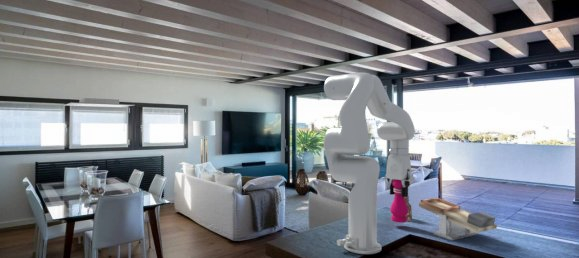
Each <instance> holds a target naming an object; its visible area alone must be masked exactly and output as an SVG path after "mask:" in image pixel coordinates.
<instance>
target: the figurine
mask: <svg viewBox="0 0 579 258" xmlns="http://www.w3.org/2000/svg"><path fill="white" fill-rule="evenodd" d="M409 199H410V198H409V195H408V197H405V202H406V204H407V207H408V214H407V215H406V217H407V222H411V221H413V212H412V205H411V203H410V202H409V201H410V200H409Z"/></svg>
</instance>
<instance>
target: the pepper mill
mask: <svg viewBox="0 0 579 258" xmlns="http://www.w3.org/2000/svg"><path fill="white" fill-rule="evenodd" d="M405 183H406V181H405ZM392 184H393V186H394V192H395V194H394V198H393V200H392V202H391V205H390V212H391V217H390V218H391V219H390V220H391V221H392V222H393V223H394V222H395V223H399V224H403V223H407V222H408V221H407V217H406V215H407V214H408V207H407V204H406V202H405V197H402V196H401V188H402V187H403V186H402V182H401V180H395V179H394V180H393V183H392Z"/></svg>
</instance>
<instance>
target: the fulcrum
mask: <svg viewBox="0 0 579 258" xmlns="http://www.w3.org/2000/svg"><path fill="white" fill-rule="evenodd" d="M463 210H464V211H466V212H469V213H471V214H472V212H471V211H470V210H465V209H463ZM438 221H439V222H438V224H439V225H438V226H439V228H438V229H439V230H436V231H433V235H434V236H438V237H440V238H443V239H446V240H449V241H455V240H459V239H465V238H468V237H469V238H470V237H472V236H477V235H478V233H475V232H473V231H471V230H469V229H466V228H464V227H462V226H460V225H458V224H456V223H454V222H451V221H449V220H448V216H447V215H443V214H439V215H438ZM464 237H465V238H464Z"/></svg>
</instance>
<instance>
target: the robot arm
mask: <svg viewBox="0 0 579 258" xmlns="http://www.w3.org/2000/svg"><path fill="white" fill-rule="evenodd" d="M323 91H324V94H325V96H326V97H327V98H328V99H329V100H332V101H344V103H343V104H342V106H341V108H340V111H339V113H338V117H339V119H338V120H339V124H340V126H334V127H333V126H332V127H331V128H328V129H327V130H326V131H325V134H324V137H323V150H324V153H325V154H324V155H325V157H326V161H327V162H326V163H327V166H328V170H329V174H330V176H331V178H332V179H333V180H334V181H336V182H343V183H352V184H354V186H353V187H352V189H351V190H350V192H349V193H348V201H347V203H348V205H347V206H348V207H347V208H348V217H347V218H348V222H347V223H348V224H347V225H348V227H347V228H348V229H347V230H348V231H347V234H345V237H344V238H343V239H342V238H340V239H337V240H336V244H337V246H338V247H340V246H343V247H344V249H345V250H347V251H348V252H351V253H354V254H359V255H374V254H378V253H380V252H381V251H382V245H381V244H380V243H379V242H377V239H378V236H377V235H378V227H377V226H378V225H377V221H378V220H377V218H378V216H377V215H378V214H377V213H378V211H377V210H378V209H377V203H378V201H377V200H378V199H377V198H378V196H377V194H378V183H379V177H380V169H381V168H380V163H379V162H378V161H377V159H375V158H374V157H372V156H366V155H365V154H367V153H368V152H369V151H370V149H371V148H370V147H371V143H370V141H371V140H370V139H371V138H370V134H369V128H368V122H367V118H366V117H367V116H366V109H368V111H369V113H370V115H372V116H373V117H374V118H378V119H381V120H384V121H383V122H381V123H380V124H379V125H378V126H377V127H376V128H377V129H376V133H377V136H378V137H379V138H380V139H381V140H384V141H389V151H388V152H389V155H388V157H387V161H386V173H385V174H384V178H386V181H387V182H388V185H389V195H390V196H391V195H395V192H394V186H393V184H392V183H393V180H394V179H395V180H401V182H402V186H403V187H402V188H401V196H402V197H408V196H409V188H410V187H411V186H410V185H412V183H413V182H414V181H415V178H414V177H413V174H412V165H411V164H412V163H411V157H410V156H409V155H410V154H409V153H410V140H413V138H414V137H415V132H416V129H415V126H414V122H413V120H412V118H411V115H410V113H409V112H407V110H405V109H404V108H402V107H400V106H399V105H398V104H395V103H393V102H392V101H391V100H390V98H389V96H388V94H387V91H386V90H385V87H384V85H383V82H382V81H381V78H379V76H378V75H374V74H370V73H368V72H364V71H363V72H360V71H359V72H351V73H344V74H337V75H335V74H334V75H330V76H329V77H327V78H326V79H325V81H324V85H323ZM405 181H406V183H405Z"/></svg>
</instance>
